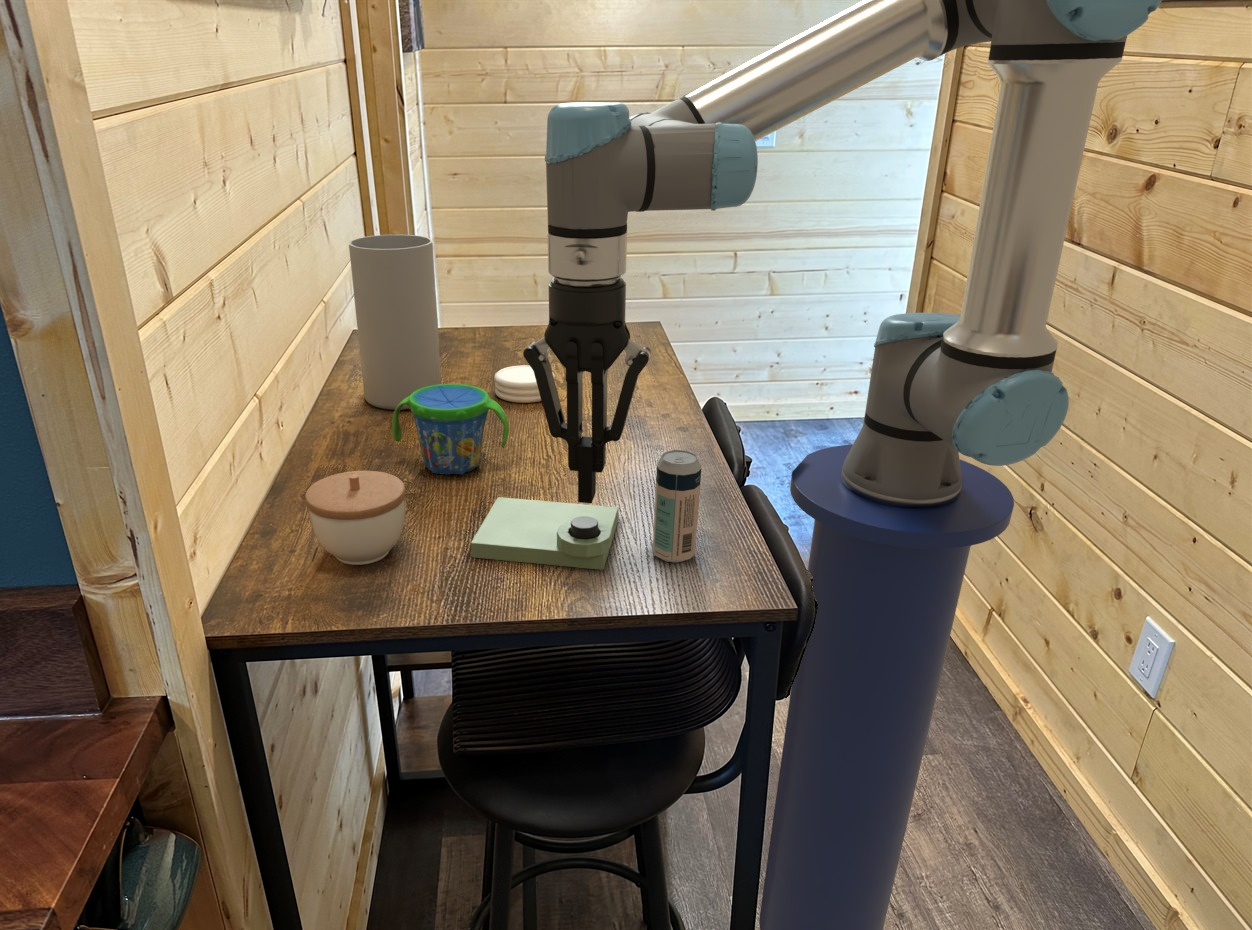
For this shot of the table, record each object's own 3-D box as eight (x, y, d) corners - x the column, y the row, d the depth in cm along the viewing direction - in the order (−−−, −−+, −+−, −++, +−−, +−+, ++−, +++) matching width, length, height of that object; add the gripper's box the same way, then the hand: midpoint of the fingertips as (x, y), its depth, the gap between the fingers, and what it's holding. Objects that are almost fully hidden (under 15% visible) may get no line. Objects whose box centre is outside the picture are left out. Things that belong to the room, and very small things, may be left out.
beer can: (696, 547, 105) (704, 450, 99) (692, 567, 100) (699, 467, 95) (655, 542, 106) (660, 446, 100) (649, 562, 101) (654, 463, 96)
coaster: (560, 385, 155) (560, 366, 154) (548, 405, 146) (548, 384, 145) (503, 382, 157) (502, 362, 155) (488, 401, 148) (487, 381, 146)
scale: (621, 521, 110) (622, 495, 109) (606, 574, 99) (606, 546, 97) (498, 510, 113) (497, 484, 111) (468, 561, 101) (467, 533, 100)
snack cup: (518, 456, 128) (516, 387, 123) (496, 487, 119) (493, 414, 114) (413, 446, 131) (408, 378, 126) (384, 476, 122) (377, 404, 117)
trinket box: (358, 521, 110) (350, 450, 106) (429, 543, 105) (423, 469, 101) (293, 559, 102) (281, 483, 97) (366, 585, 97) (357, 506, 93)
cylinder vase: (445, 385, 155) (436, 234, 144) (438, 411, 144) (427, 249, 133) (371, 386, 155) (356, 234, 144) (358, 411, 144) (341, 249, 132)
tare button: (599, 529, 102) (600, 517, 101) (595, 542, 99) (595, 529, 98) (573, 527, 102) (573, 514, 101) (568, 539, 100) (568, 527, 99)
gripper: (512, 284, 86) (520, 508, 96) (650, 288, 84) (643, 517, 94) (529, 267, 92) (535, 478, 103) (658, 271, 90) (650, 487, 101)
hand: (587, 497), depth 99 cm, fingers closed
